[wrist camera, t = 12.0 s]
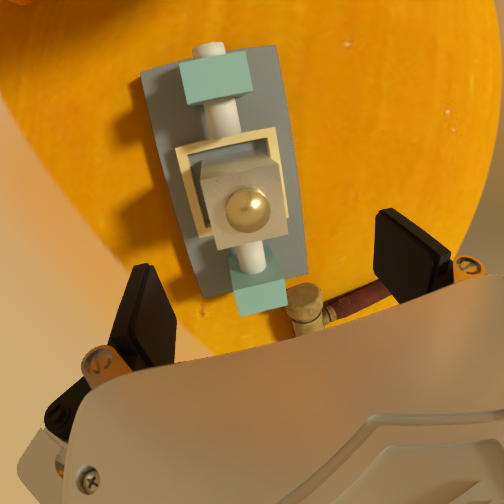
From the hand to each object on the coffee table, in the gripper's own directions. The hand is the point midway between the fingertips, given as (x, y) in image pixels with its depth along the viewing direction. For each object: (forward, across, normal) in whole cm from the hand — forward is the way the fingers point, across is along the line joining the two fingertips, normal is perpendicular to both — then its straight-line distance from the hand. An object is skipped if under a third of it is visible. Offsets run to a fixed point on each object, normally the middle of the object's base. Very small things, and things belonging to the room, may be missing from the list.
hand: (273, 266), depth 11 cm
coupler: (+16, 0, +1) cm, 16 cm away
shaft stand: (+17, 0, +1) cm, 17 cm away
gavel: (+18, -13, +19) cm, 29 cm away
